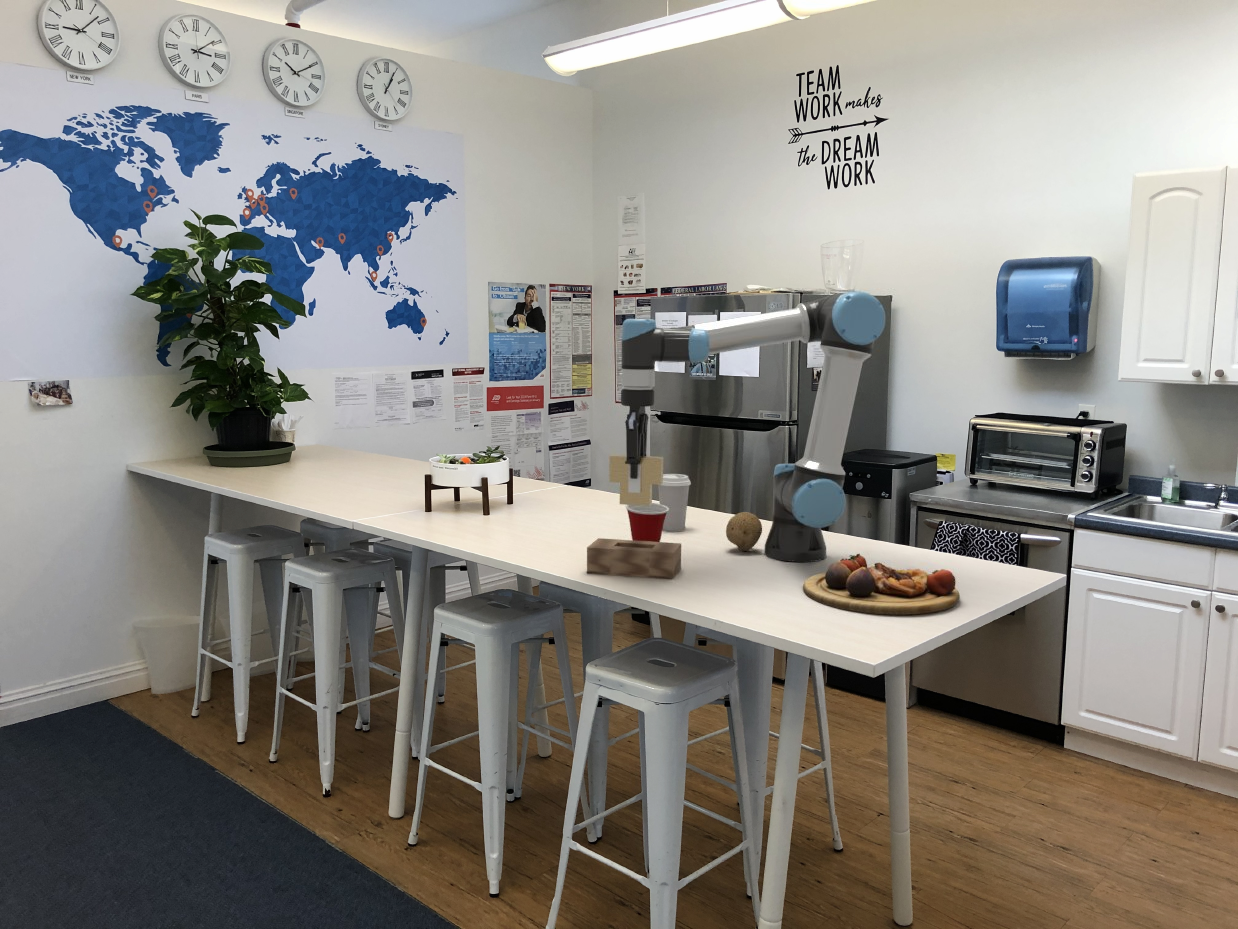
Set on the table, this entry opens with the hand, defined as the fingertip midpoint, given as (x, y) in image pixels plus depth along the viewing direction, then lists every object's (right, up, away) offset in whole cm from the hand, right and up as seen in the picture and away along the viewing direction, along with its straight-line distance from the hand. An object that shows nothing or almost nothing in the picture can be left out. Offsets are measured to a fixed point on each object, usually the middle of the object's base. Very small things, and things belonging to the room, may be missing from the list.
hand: (636, 491), depth 219 cm
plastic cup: (+3, -16, +20) cm, 26 cm away
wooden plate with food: (+52, -22, -15) cm, 58 cm away
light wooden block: (0, -3, 0) cm, 3 cm away
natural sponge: (+27, -16, +24) cm, 40 cm away
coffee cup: (+11, -12, +49) cm, 52 cm away
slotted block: (0, -18, +3) cm, 19 cm away
